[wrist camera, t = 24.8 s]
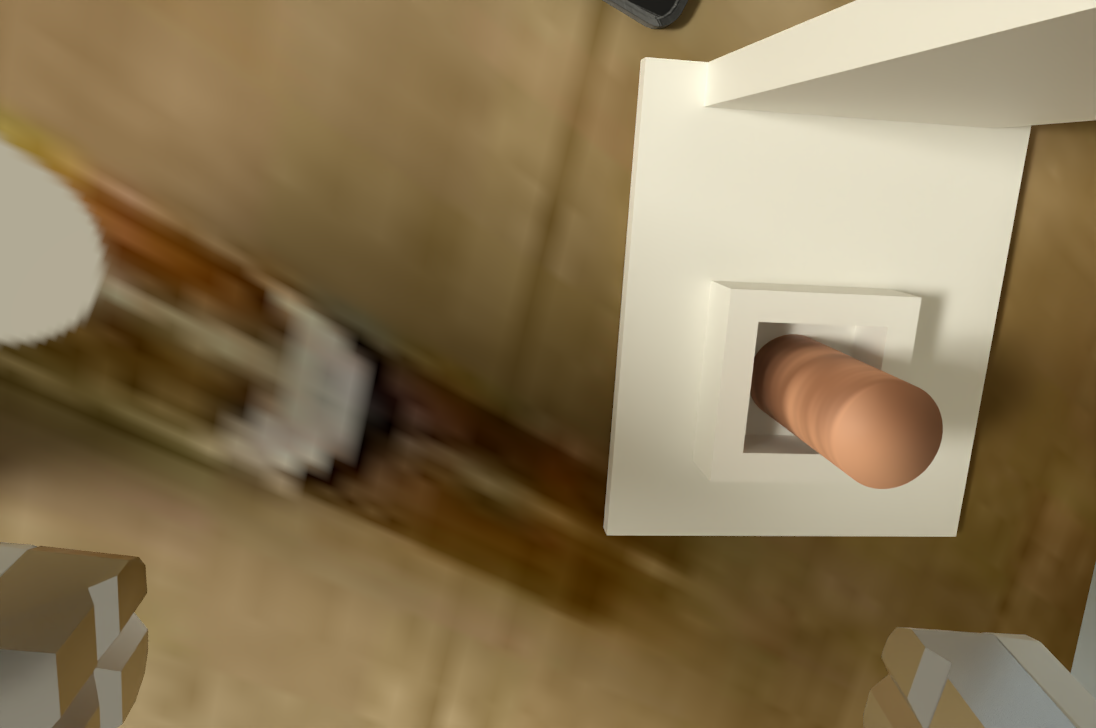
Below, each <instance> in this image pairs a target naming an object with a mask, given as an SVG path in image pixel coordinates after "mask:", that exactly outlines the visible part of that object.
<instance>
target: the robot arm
mask: <svg viewBox="0 0 1096 728" xmlns="http://www.w3.org/2000/svg"><path fill="white" fill-rule="evenodd" d="M146 594H147V584H146V567H145V564H144V563H143V562H142V561H141V559H140V558H139V557H136V556H127V555H118V554H109V553H100V552H91V551H82V550H73V549H64V548H55V547H46V546H39V547H37V546H34V545H28V544H16V543H5V542H0V728H117V727H119V726H120V725H122V724H123V722H124V721H125V719H126V717H127V715H128V713H129V712H130V710H131V708H132V706H133V705H134V703H135V701H136V698H137V695H138V692H139V689H140V686H141V683H142V680H143V677H144V674H145V668H146V661H147V654H148V629H147V628H146V627H145V625H144V624H143V623H142V622H141V620H140V619H139V618H138V617H137V615H136V614H135V613H134V612H135V610H136V609H137V607H138V606H139V604H140V603H141V601H142V600H143V598H144V597H145V595H146ZM881 658H882V660H883V663H884V665H885V667H886V669H887V671H888V675H887V676H886V677H885V678H883V679H882V680H881V681H880V682H879V683H877V684H876V685H875V686H874V687H872V688H871V689H870V692H869V695H868V699H867V703H866V706H865V710H864V713H863V724H864V728H1096V700H1095V699H1094V698H1093V697H1092V695H1091V694H1090V693H1089V692H1088V691H1087V690H1086V689H1085V688H1084V687H1083V686H1082V685H1081V684H1080V683H1079V682H1078V681H1077V680H1076V679H1075V678H1074V677H1073V676H1072V674H1071V673H1070V672H1069V671H1068V670H1067V669H1066V668H1065V667H1064V666H1063V665H1062V664H1061V663H1060V662H1059V661H1058V660H1057V659H1056V658H1055V657H1054V656H1053V655H1052V653H1051V652H1050V651H1049V650H1048V649H1047V648H1046V647H1045V646H1044V645H1043V644H1042V643H1041V642H1040V641H1038V640H1036V639H1034V638H1032V637H1029V636H1027V635H1022V634H1004V633H986V632H983V633H972V632H959V631H945V630H932V629H919V628H905V627H896V628H895V630H894V631H893V632H892V633H891V634H890V636H889V637H888V638H887V641H886V644H885V647H884V650H883V652H882V655H881Z"/></svg>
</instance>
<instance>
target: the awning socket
mask: <svg viewBox="0 0 1096 728" xmlns="http://www.w3.org/2000/svg"><path fill="white" fill-rule="evenodd" d="M1093 120H1096V0H856V1H854V2H851V3H849V4H846V5H844V6H842V7H839V8H837V9H834V10H832V11H830V12H827V13H825V14H823V15H820V16H818V17H815V18H813V19H811V20H808V21H806V22H803V23H801V24H799V25H796V26H794V27H791V28H789V29H787V30H784V31H782V32H779V33H777V34H775V35H772V36H770V37H768V38H765V39H763V40H760V41H758V42H756V43H753V44H751V45H748V46H746V47H744V48H741V49H739V50H736V51H734V52H732V53H729V54H727V55H724V56H722V57H720V58H717V59H715V60H713V61H710V62H698V61H685V60H673V59H661V58H649V57H645V58H644V59H642V60H641V65H640V77H639V90H638V102H637V115H636V127H635V140H634V152H633V165H632V177H631V189H630V202H629V214H628V227H627V239H626V252H625V264H624V277H623V289H622V301H621V314H620V326H619V339H618V351H617V364H616V376H615V389H614V401H613V413H612V426H611V438H610V451H609V463H608V476H607V488H606V501H605V513H604V526H603V528H604V530H605V532H606V535H636V536H910V537H956V534H957V528H958V523H959V517H960V512H961V506H962V501H963V496H964V490H965V485H966V479H967V474H968V468H969V463H970V457H971V452H972V446H973V441H974V436H975V430H976V425H977V419H978V414H979V408H980V403H981V397H982V392H983V386H984V381H985V375H986V370H987V365H988V359H989V354H990V348H991V343H992V337H993V332H994V326H995V321H996V315H997V310H998V304H999V299H1000V294H1001V288H1002V283H1003V277H1004V272H1005V266H1006V261H1007V255H1008V250H1009V244H1010V239H1011V233H1012V228H1013V223H1014V217H1015V212H1016V206H1017V201H1018V195H1019V190H1020V184H1021V179H1022V173H1023V168H1024V162H1025V157H1026V152H1027V146H1028V141H1029V135H1030V130H1031V125H1043V124H1055V123H1068V122H1081V121H1093ZM788 334H798V335H803V336H807V337H809V338H811V339H813V340H816V341H818V342H820V343H822V344H824V345H827V346H829V347H831V348H833V349H835V350H838V351H840V352H842V353H844V354H846V355H849V356H851V357H853V358H855V359H857V360H860V361H862V362H864V363H866V364H868V365H871V366H873V367H875V368H877V369H879V370H882V371H884V372H886V373H888V374H890V375H893V376H895V377H897V378H899V379H901V380H904V381H906V382H908V383H910V384H912V385H914V386H917V387H919V388H921V389H922V390H924V391H925V392H927V393H928V394H929V395H930V396H931V397H932V399H933V400H934V401H935V403H936V404H937V406H938V408H939V410H940V413H941V417H942V423H943V434H942V440H941V444H940V447H939V450H938V452H937V454H936V456H935V458H934V460H933V461H932V462H931V464H930V465H929V466H928V468H927V469H926V470H925V471H924V472H923V473H922V474H920V475H919V476H918V477H917V478H915V479H914V480H912V481H910V482H909V483H907V484H904V485H902V486H899V487H895V488H890V489H875V488H870V487H867V486H864V485H862V484H860V483H858V482H857V481H855V480H854V479H852V478H851V477H850V476H848V475H847V474H846V473H844V472H843V471H842V470H840V469H839V468H838V467H836V466H835V465H834V464H832V463H831V462H830V461H829V460H827V459H826V458H825V457H823V456H822V455H821V454H819V453H818V452H817V451H815V450H814V449H813V448H811V447H810V446H809V445H807V444H806V443H805V442H803V441H802V440H801V439H799V438H798V437H797V436H795V435H794V434H793V433H791V432H790V431H789V430H787V429H786V428H785V427H783V426H782V425H781V424H779V423H778V422H777V421H775V420H774V419H773V418H771V417H770V416H769V415H767V414H766V413H765V412H763V411H762V410H761V409H760V408H759V407H758V406H757V405H756V404H755V402H754V401H753V399H752V397H751V395H750V389H751V381H752V373H753V364H754V357H755V355H756V354H757V352H758V351H759V350H760V349H761V348H762V347H763V346H764V345H765V344H766V343H768V342H769V341H771V340H773V339H775V338H777V337H779V336H783V335H788ZM1071 674H1072V676H1073V677H1074V678H1075V679H1076V680H1077V681H1078V682H1079V683H1080V684H1081V685H1082V686H1083V687H1084V688H1085V689H1086V690H1087V691H1088V692H1089V693H1090V694H1091V695H1092V697H1093V698H1094V699H1095V700H1096V563H1095V567H1094V572H1093V576H1092V581H1091V585H1090V590H1089V594H1088V599H1087V603H1086V607H1085V612H1084V616H1083V621H1082V625H1081V630H1080V634H1079V638H1078V643H1077V647H1076V652H1075V656H1074V661H1073V665H1072V670H1071Z"/></svg>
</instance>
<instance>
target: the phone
mask: <svg viewBox="0 0 1096 728" xmlns="http://www.w3.org/2000/svg"><path fill="white" fill-rule="evenodd" d="M603 1H604V2H606V3H608V4H609V5H611V6H613V7H614V8H616V9H618V10H619V11H621V12H623V13H624V14H626V15H628V16H629V17H631V18H632V19H634V20H636V21H637V22H639V23H641V24H642V25H644V26H646V27H649V28H651V29H661V28H664V27H667V26H668V25H670V24H671V23H672V22H674V21H675V20H677V18H678V17H679V16H680V14H681V13H682V11H683V9H684V7H685V5H686V4H687V2H688V0H603Z"/></svg>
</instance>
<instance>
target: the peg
mask: <svg viewBox="0 0 1096 728" xmlns="http://www.w3.org/2000/svg"><path fill="white" fill-rule="evenodd" d="M750 395H751V397H752V399H753V401H754V402H755V404H756V405H757V406H758V407H759V408H760V409H761V410H762V411H763V412H765V413H766V414H767V415H769V416H770V417H771V418H773V419H774V420H775V421H777V422H778V423H779V424H781V425H782V426H783V427H785V428H786V429H787V430H789V431H790V432H791V433H793V434H794V435H795V436H797V437H798V438H799V439H801V440H802V441H803V442H805V443H806V444H807V445H809V446H810V447H811V448H813V449H814V450H815V451H817V452H818V453H819V454H821V455H822V456H823V457H825V458H826V459H827V460H829V461H830V462H831V463H832V464H834V465H835V466H836V467H838V468H839V469H840V470H842V471H843V472H844V473H846V474H847V475H848V476H850V477H851V478H852V479H854V480H855V481H857V482H858V483H860V484H862V485H864V486H867V487H870V488H875V489H890V488H895V487H899V486H902V485H904V484H907V483H909V482H910V481H912V480H914V479H915V478H917V477H918V476H919V475H920V474H922V473H923V472H924V471H925V470H926V469H927V468H928V466H929V465H930V464H931V462H932V461H933V460H934V458H935V456H936V454H937V452H938V450H939V447H940V444H941V440H942V434H943V423H942V417H941V413H940V410H939V408H938V406H937V404H936V403H935V401H934V400H933V399H932V397H931V396H930V395H929V394H928V393H927V392H925V391H924V390H922V389H921V388H919V387H917V386H914V385H912V384H910V383H908V382H906V381H904V380H901V379H899V378H897V377H895V376H893V375H890V374H888V373H886V372H884V371H882V370H879V369H877V368H875V367H873V366H871V365H868V364H866V363H864V362H862V361H860V360H857V359H855V358H853V357H851V356H849V355H846V354H844V353H842V352H840V351H838V350H835V349H833V348H831V347H829V346H827V345H824V344H822V343H820V342H818V341H816V340H813V339H811V338H809V337H807V336H803V335H798V334H788V335H783V336H779V337H777V338H775V339H773V340H771V341H769V342H768V343H766V344H765V345H764V346H763V347H762V348H761V349H760V350H759V351H758V352H757V354H756V355H755V357H754V364H753V373H752V381H751V389H750Z"/></svg>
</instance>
